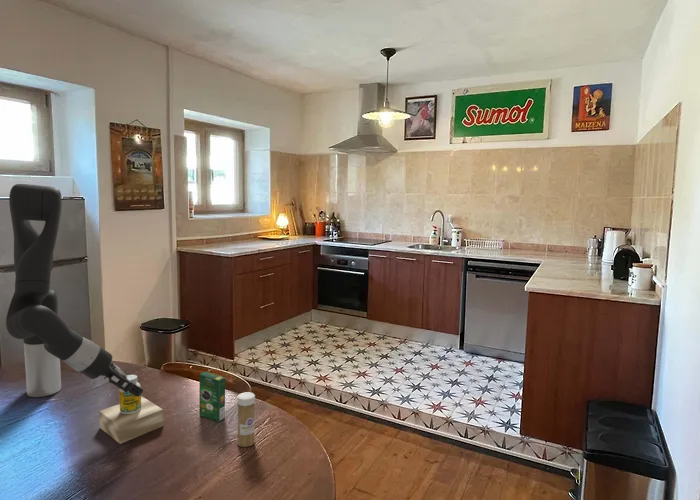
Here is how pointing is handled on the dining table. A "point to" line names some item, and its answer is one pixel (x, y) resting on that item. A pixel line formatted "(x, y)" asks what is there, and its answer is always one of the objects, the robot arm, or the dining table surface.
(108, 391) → the dining table surface
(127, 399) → the supplement bottle
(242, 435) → the sprinkles bottle
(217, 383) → the coffee box
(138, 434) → the pale wooden block
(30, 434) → the dining table surface
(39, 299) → the robot arm
